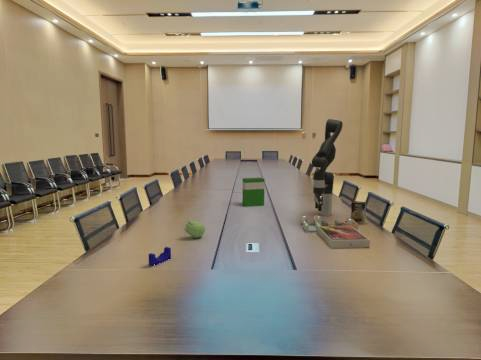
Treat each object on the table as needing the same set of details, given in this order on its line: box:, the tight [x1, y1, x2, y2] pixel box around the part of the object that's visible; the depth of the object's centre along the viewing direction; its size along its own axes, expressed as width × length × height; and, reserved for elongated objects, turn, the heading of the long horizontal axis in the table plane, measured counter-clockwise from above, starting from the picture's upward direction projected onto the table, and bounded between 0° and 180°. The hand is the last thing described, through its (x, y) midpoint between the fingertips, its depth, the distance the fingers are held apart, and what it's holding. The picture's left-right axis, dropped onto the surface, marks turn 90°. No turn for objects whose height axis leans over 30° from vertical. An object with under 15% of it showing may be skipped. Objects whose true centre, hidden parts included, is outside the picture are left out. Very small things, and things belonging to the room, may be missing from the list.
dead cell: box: [345, 217, 354, 224], centre depth 219 cm, size 5×5×7 cm
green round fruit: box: [183, 220, 206, 239], centre depth 202 cm, size 12×11×11 cm
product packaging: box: [316, 225, 371, 249], centre depth 199 cm, size 22×28×5 cm
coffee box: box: [350, 200, 367, 225], centre depth 231 cm, size 9×6×16 cm
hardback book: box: [242, 177, 265, 208], centre depth 291 cm, size 18×7×24 cm, turn 107°
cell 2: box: [313, 214, 322, 226], centre depth 231 cm, size 5×5×7 cm
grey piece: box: [302, 219, 362, 233], centre depth 219 cm, size 11×36×6 cm, turn 89°
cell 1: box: [299, 214, 308, 226], centre depth 232 cm, size 5×5×7 cm
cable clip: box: [147, 246, 172, 267], centre depth 165 cm, size 12×4×6 cm, turn 148°
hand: (318, 209), depth 229 cm, fingers open, 8 cm apart
